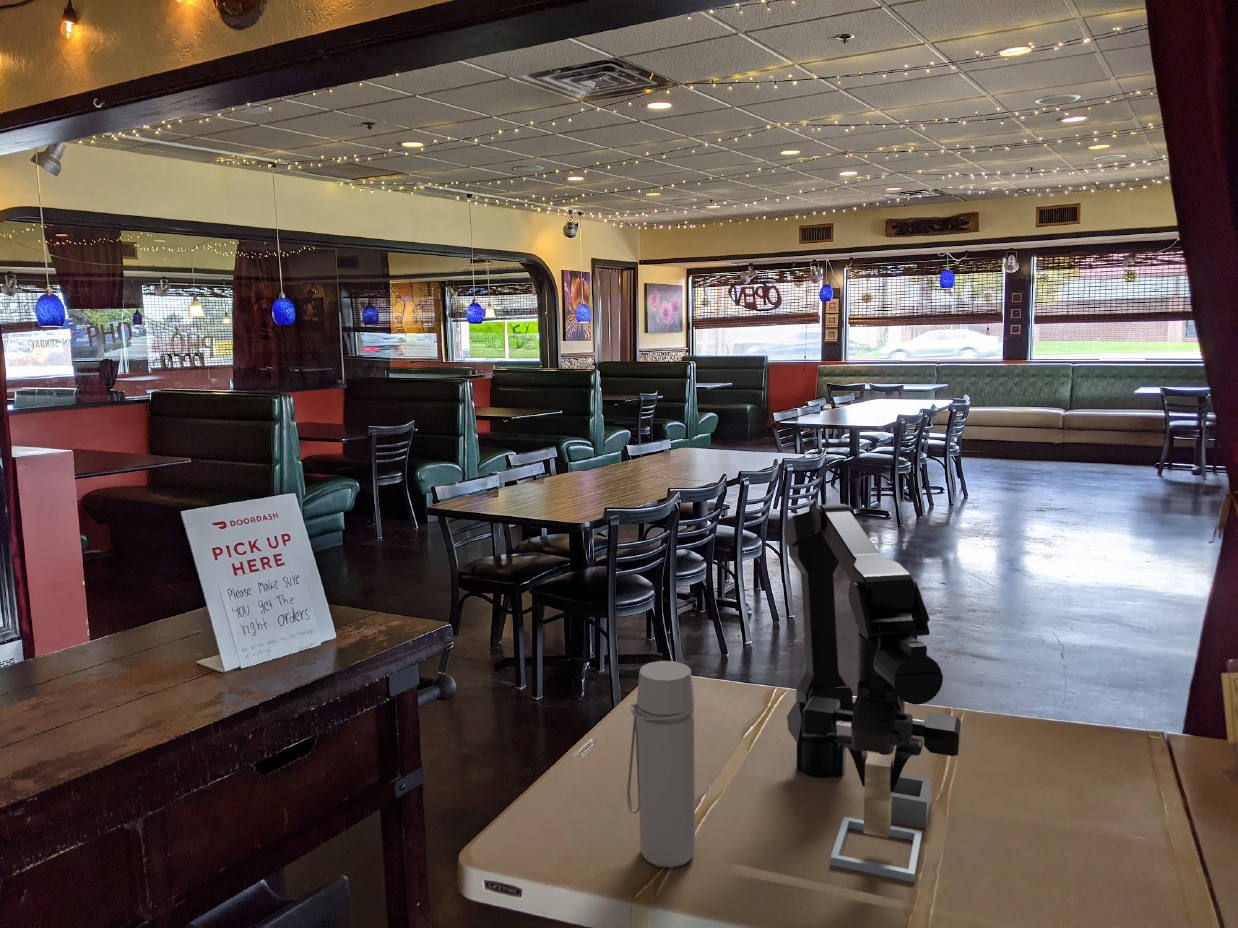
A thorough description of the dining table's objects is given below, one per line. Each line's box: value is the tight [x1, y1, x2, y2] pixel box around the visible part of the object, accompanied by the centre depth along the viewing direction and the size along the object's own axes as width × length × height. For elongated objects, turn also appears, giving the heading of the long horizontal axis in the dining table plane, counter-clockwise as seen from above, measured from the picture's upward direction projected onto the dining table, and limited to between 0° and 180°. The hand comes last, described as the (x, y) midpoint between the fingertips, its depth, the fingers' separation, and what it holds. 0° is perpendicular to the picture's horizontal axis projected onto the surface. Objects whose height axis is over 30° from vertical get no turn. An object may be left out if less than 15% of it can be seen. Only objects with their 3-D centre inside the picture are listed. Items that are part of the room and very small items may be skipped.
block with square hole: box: [891, 773, 932, 829], centre depth 127 cm, size 7×7×4 cm
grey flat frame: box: [829, 816, 923, 883], centre depth 118 cm, size 10×10×2 cm
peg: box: [863, 752, 894, 839], centre depth 116 cm, size 3×3×10 cm
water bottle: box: [626, 660, 696, 868], centre depth 118 cm, size 9×8×25 cm
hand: (878, 787), depth 116 cm, fingers closed on peg, 3 cm apart
